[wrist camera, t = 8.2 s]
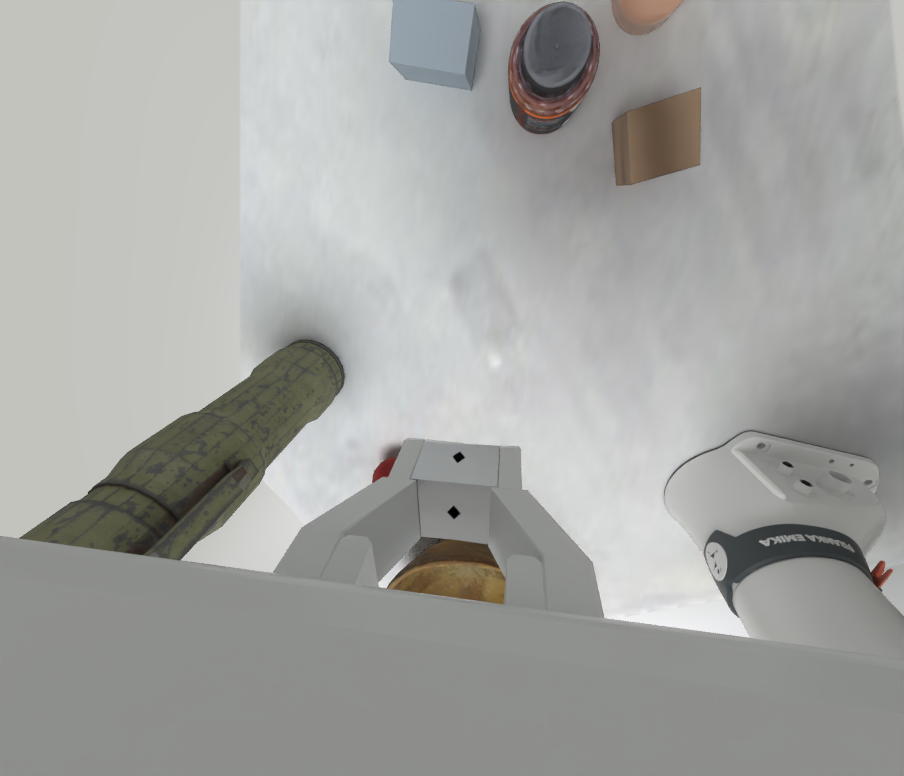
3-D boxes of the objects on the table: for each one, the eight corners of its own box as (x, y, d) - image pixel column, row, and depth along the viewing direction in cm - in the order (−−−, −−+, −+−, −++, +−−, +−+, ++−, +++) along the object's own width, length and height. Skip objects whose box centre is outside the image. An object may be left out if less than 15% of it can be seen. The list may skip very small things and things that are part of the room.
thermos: (259, 353, 49) (-177, 625, 18) (334, 327, 45) (-46, 606, 15) (293, 409, 52) (-23, 717, 21) (365, 388, 49) (112, 720, 18)
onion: (389, 479, 56) (371, 520, 49) (376, 448, 53) (355, 487, 46) (425, 476, 54) (412, 518, 47) (414, 444, 52) (398, 483, 45)
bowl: (546, 598, 63) (551, 663, 54) (418, 596, 68) (404, 655, 59) (532, 501, 53) (536, 562, 45) (385, 507, 58) (363, 563, 50)
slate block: (480, 31, 31) (474, 3, 26) (471, 90, 33) (464, 74, 28) (410, 19, 31) (393, -9, 27) (405, 79, 33) (389, 61, 29)
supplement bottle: (588, 114, 32) (621, 77, 22) (522, 148, 34) (525, 128, 24) (569, 32, 30) (595, -50, 20) (500, 73, 32) (492, 17, 22)
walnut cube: (674, 102, 31) (701, 87, 27) (675, 168, 33) (700, 164, 29) (611, 123, 32) (626, 112, 28) (616, 185, 34) (631, 184, 30)
